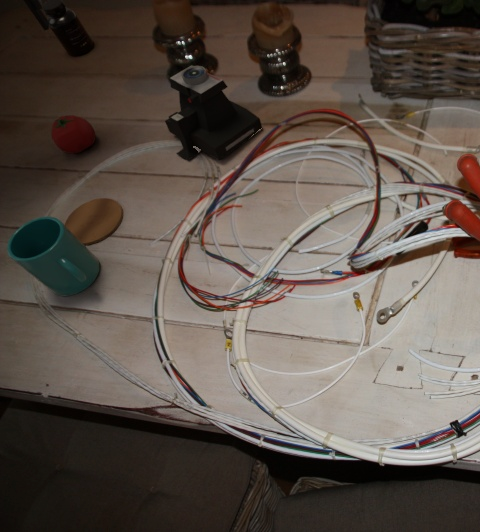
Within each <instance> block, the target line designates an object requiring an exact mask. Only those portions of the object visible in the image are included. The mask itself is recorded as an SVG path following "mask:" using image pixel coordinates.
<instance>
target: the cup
mask: <svg viewBox="0 0 480 532" xmlns="http://www.w3.org/2000/svg"><path fill="white" fill-rule="evenodd" d="M6 251H7V255H8V256H9V257H10V258H11V259H12V260H13V261H14V262H15V263H17V264H18V265H19V266H20V267H21V268H22V269H24V270H25V271H26V272H27V273H28V274H30V275H31V276H32V277H33V278H35V279H36V280H37V281H38V282H40V284H42V285H43V286H45V288H46V289H48V290H49V291H50V292H51V293H54V294H55V295H57V296H62V297H69V296H73V295H76V294H80V293H82V292H83V291H85V290H86V289H88V288H89V287H90V286H91V285H92V284H93V283H94V282H95V280H96V279H97V277H98V276H99V273H100V262H99V260H98V258H97V257H96V256H95V254H93V253H92V251H91V250H90V249H89V248H88V247H87V246H86V245H84V244H83V243H82V242H81V241H80V240H79V239H78V238H77V237H76V236H75V235H74V234H73V233H72V232H71V231H70V230H69V229H68V228H67V227H66V226H65V223H63V221H62V220H60V219H59V218H57V217H55V216H54V217H53V216H41V217H36V218H33V219H31V220H28V221H27V222H26V223H24V224H22V225H20V226H19V227H18V228H17V229H15V231H14V232H13V233H12V234H11V236H10V238H9V240H8V242H7V246H6Z"/></svg>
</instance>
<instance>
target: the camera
mask: <svg viewBox="0 0 480 532" xmlns="http://www.w3.org/2000/svg"><path fill="white" fill-rule="evenodd" d="M169 84H170V88H171V89H173V90H175V91H176V92H178V97H179V98H178V99H179V108H180V111H175V112H174V113H173V114H170V115H169V116H168V118H167V119H166V120H164V123H165V125H166V127H167V129H168V131H169V133H171V134H172V135H174V136H176V137H177V138H178V140H179V142H180V144H181V146H182V148H181V149H180V150H179V151H178V152H176V155H178V156H180V157H181V158H183V159H185V161H186V160H187V161H190V160H192V159H193V158H194V157H196V156H197V155H199V154H198V151H197V150H196V149H195V148H193V146H196V147H198V148H199V149H201V150H202V152H204V153H206V154H207V155H209V156H211V157H212V158H214V159H216V160H218V161H220V160H222V159H223V158H226V156H228V155H230V154H231V153H232V152H233V151H235V150H236V149H237V148H239V147H241V146H242V145H243V144H244V142H245V143H246V142H247V141H249V140H250V139H251V138H250V137H251V136H252V135H253V134H255V133H256V132H257V131H258V130H259V129H261V128H262V129H263V125H262V122H261V119H260V117H259V116H257V115H256V114H254V113H253V112H251V111H250V110H249V109H247V108H246V107H243V106H242V105H240V104H238V103H235V102H234V101H231V100H230V99H229V98H228V97H227V95H226V94H225V93H224V92H223V91H224V90H225V89H227V88H228V85H227V84H226V82H225V80H223V79H222V78H219V77H218V76H216V75H213V74H212V73H209V72H207V69H206V68H205V67H204V66H202V65H192V64H191V65H190V66H188V67H186V68H185V69H183V70H180V71H179V72H178V73H176V74H174V75H172V76H171V77H169ZM249 138H250V139H249ZM248 139H249V140H248Z"/></svg>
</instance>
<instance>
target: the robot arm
mask: <svg viewBox="0 0 480 532" xmlns="http://www.w3.org/2000/svg"><path fill="white" fill-rule="evenodd" d="M23 2H24V3H25V5H26V6H27V7H28V9H29V11H31V13H32V15H33V17H34V18H35V19H36V21H37V22H38V23H39V25H40V26H41V27H42V29H43V30H44V31H49V29H50V27H49V21H48V20H47V16H46V14H45V13H44V12H43V9H42V5H43V1H42V0H23Z"/></svg>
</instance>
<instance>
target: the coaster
mask: <svg viewBox="0 0 480 532" xmlns="http://www.w3.org/2000/svg"><path fill="white" fill-rule="evenodd" d="M123 217H124V211H123V208H122V206H121V205H120V203H119V202H118V201H116V200H114V199H112V198H108V197H106V198H105V197H99V198H95V199H91V200H88V201H86V202H84V203H82V204H80V205H78V207H77V208H75V209H74V210H73V211H72V212H71V213H70V214H69V215H68V217H67V218H66V220H65V222H64V225H65V226H66V227H67V228H68V229H69V230H70V231H71V232H72V233H73V234H74V235H75V236H76V237H77V238H78V239H79V240H80V241H81V242H82V243H83V244H84V245H85V246H89V245H93V244H96V243H99V242H101V241H103V240H105V239H107V238H108V237H110V236H111V235H112V234H113V233H115V231H116V230H117V229H118V228H119V227H120V225H121V223H122V221H123Z"/></svg>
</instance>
